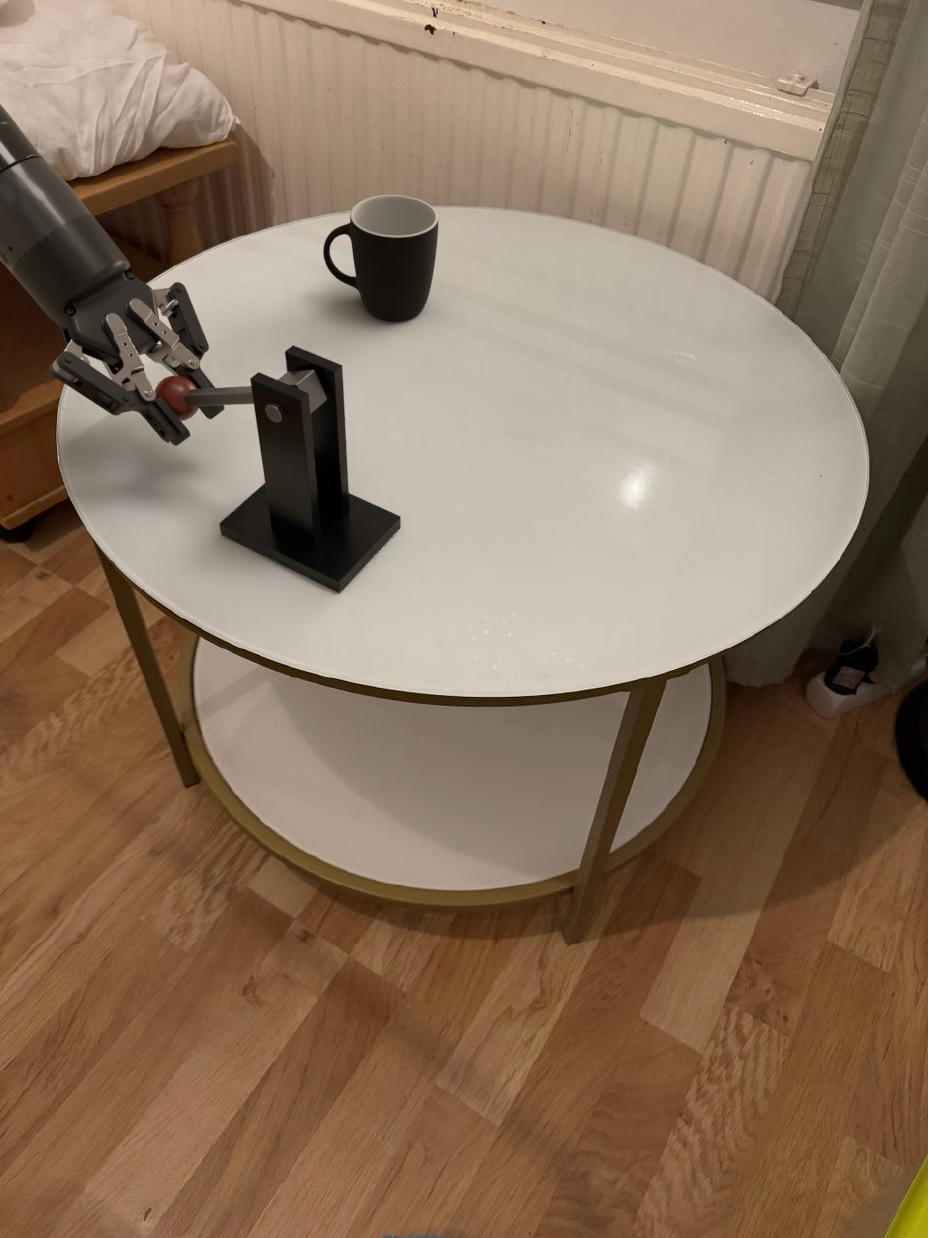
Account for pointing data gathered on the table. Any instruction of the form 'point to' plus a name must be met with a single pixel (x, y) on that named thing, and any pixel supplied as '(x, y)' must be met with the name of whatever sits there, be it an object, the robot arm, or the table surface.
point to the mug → (390, 254)
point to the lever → (229, 393)
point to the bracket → (307, 483)
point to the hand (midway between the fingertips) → (200, 426)
